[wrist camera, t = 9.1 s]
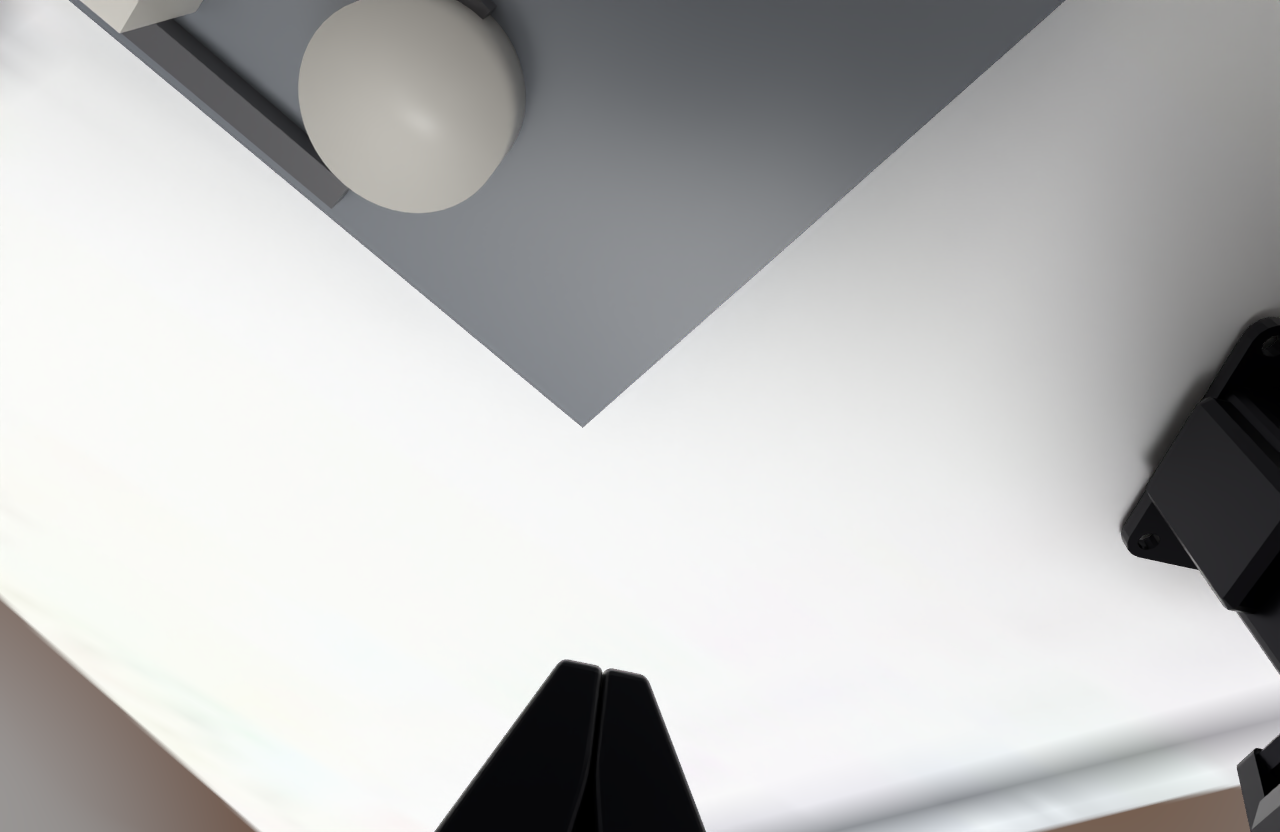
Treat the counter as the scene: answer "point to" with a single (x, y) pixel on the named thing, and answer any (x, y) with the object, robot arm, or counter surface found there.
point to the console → (577, 144)
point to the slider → (139, 11)
